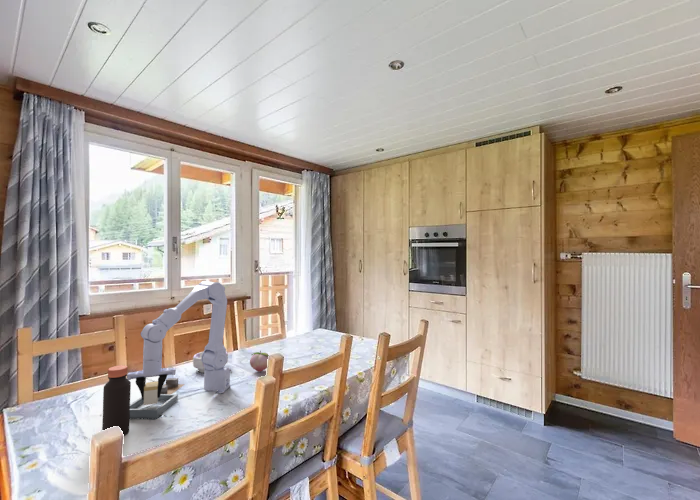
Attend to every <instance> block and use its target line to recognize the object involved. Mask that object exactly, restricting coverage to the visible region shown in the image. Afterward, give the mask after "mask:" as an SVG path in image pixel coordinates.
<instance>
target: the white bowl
mask: <svg viewBox="0 0 700 500" xmlns="http://www.w3.org/2000/svg"><path fill="white" fill-rule="evenodd" d="M203 352H204V350H203V351H200V352H198V353H195V354H194V355H193V357H192V366H193V367H194V368H195V369H197V371H198V372H199V373H201V374H204V364H203V363H202V361H201V356H202V354H203ZM226 355H227V362H226V364H228V361H229V359H228V358H229V357H228V356H229V354H228V351H227V350H226Z"/></svg>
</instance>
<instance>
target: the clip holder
mask: <svg viewBox="0 0 700 500" xmlns="http://www.w3.org/2000/svg"><path fill="white" fill-rule="evenodd" d="M184 386H185V383H184V384H183V383H179V378H177V377H168V378H166V380H165V383H164V384H163V386H162V389H161V394H175V392H177V391H178V390H180V389H181V388H182V387H184Z"/></svg>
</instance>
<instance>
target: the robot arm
mask: <svg viewBox="0 0 700 500" xmlns="http://www.w3.org/2000/svg"><path fill="white" fill-rule="evenodd" d="M225 291H226V287H225V286H224V285H223V284H222V283H221V282H218V281H215V282H213V281H207V280H204V281H203V280H202V281H201V282H199V283H198V284H197V285H195V286H194V288H193V289H192V290H191V291H190V292H189V294H187V295H186V296H185V297H184V298H183V299H182V300H180V302H179V303H177V305H176V306H174V307H169V308H168V309H167V308H165V309H164V310H163V311H162V312H163V313H162V314H160V315H159V316H158V317H156V319H153V320H152V321H151V322H152V323H148V324H146V325H145V326H144V327H143V328H142V330H141V332H140V336H141V338H142V339H143V348H142V349H143V350H142V356H143V357H142V370H138V371H134V372H133V371H132V372H127V376H126V379H128V380H129V381H131V380H135V384H136V386H137V388H138V390H139V393H140V396H141V397H142V400H144V387H145V385H146V383H147V378H154V377H158V378H157V381H158V398H159V397H160V395H161V389H162V386H163V385H165V383H166V380H167V379H168V378H167V377H168V376H175V375H176V369H177V368H176V367H172V368H171V367H169V368H168V367H166V368H165V367H163V366H162V363H163V361H162V359H163V339H165V338H166V335H167V332H168V331H169V330H170V329H171V328H173V326H175V324H177V323H178V322H179V321H180V320H181V318H182V314H183V313H184V312H186V311H187V310H188V309H189V308H191V307H192V306H193V305H194V304H196V303H197V302H198V301H200V300H201V301H202V300H208V301H209V302H210V303H211V304H212V310H211V316H210V328H209V334H208V335H209V336H208V343H207V344H206V345H205V346H204V350H203V351H204V352H203V351H202V352H203V354H202V356H201V361H202V363H203V364H204V373H203V390H204V391H207V392H208V391H209V392H213V391H216V392H215V394H223V393H225V392H226V391H227V390H228V389H229V388H230V386H231V384H230V382H231V380H230V379H231V369H230V368H229V367H226V366H225V365H227V363H228V362H227V355H226V351H227V348H226V347H225V345H224V343H223V342H224V335H225V324H226V317H227V306H228V298H227V295H226V292H225ZM226 362H227V363H226ZM162 367H163V368H162Z"/></svg>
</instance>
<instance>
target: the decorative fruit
mask: <svg viewBox="0 0 700 500" xmlns="http://www.w3.org/2000/svg"><path fill="white" fill-rule="evenodd" d="M268 356H269V354H268V353H267V352H261V350H260V351H259V352H257V351H255V352H253V353H252V354H251V358H250V359H249V364H250V367H251V368H252V369H253V370H255V371H256V372H258V373H261V372H263V371H265V370H266V369H267V368H268V367H267V359H268ZM269 357H270V356H269Z"/></svg>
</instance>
